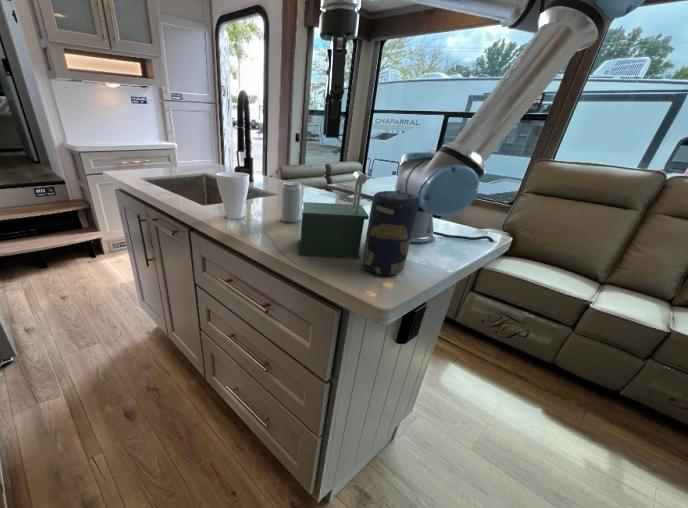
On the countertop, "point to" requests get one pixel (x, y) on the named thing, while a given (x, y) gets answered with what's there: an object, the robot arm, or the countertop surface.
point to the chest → (331, 236)
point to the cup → (233, 192)
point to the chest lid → (339, 205)
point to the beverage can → (291, 202)
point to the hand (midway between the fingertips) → (330, 136)
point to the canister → (389, 231)
